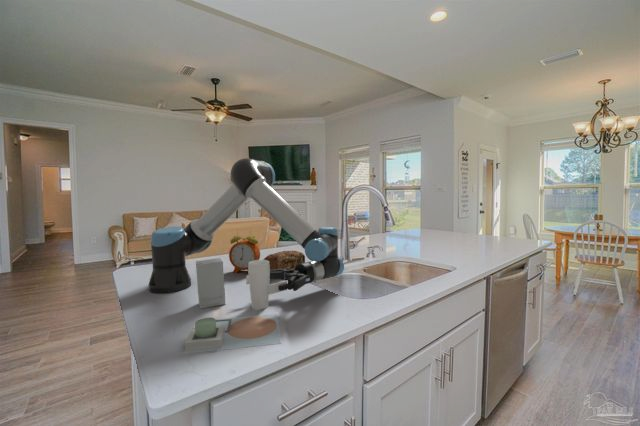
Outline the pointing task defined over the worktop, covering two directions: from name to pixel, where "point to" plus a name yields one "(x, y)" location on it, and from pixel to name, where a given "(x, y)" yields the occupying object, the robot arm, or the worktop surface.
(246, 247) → the alarm clock
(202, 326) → the button
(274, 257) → the bread
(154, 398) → the worktop surface
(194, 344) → the button collar
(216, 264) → the skincare box
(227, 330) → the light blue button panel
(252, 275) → the drinking glass
